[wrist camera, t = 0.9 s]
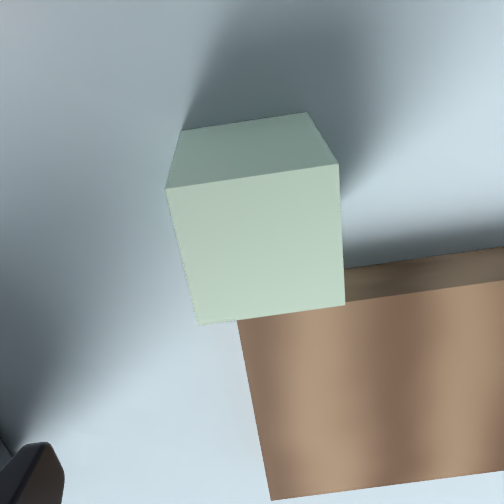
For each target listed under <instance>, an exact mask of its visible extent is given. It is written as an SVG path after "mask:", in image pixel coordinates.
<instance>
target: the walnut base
mask: <svg viewBox="0 0 504 504" xmlns="http://www.w3.org/2000/svg"><path fill="white" fill-rule="evenodd" d="M344 287H345V305H343V306H336V307H328V308H321V309H314V310H307V311H300V312H293V313H285V314H278V315H271V316H264V317H257V318H250V319H243V320H237V324H238V329H239V335H240V340H241V345H242V350H243V356H244V361H245V366H246V372H247V377H248V382H249V387H250V393H251V398H252V403H253V408H254V414H255V419H256V424H257V430H258V435H259V440H260V445H261V451H262V456H263V461H264V466H265V472H266V477H267V482H268V488H269V493H270V498H271V501H272V500H280V499H288V498H295V497H303V496H311V495H319V494H326V493H334V492H342V491H349V490H357V489H365V488H372V487H380V486H388V485H396V484H403V483H411V482H419V481H426V480H434V479H442V478H450V477H457V476H465V475H473V474H480V473H488V472H496V471H504V247H496V248H489V249H482V250H475V251H468V252H461V253H454V254H447V255H440V256H433V257H426V258H418V259H411V260H404V261H397V262H390V263H383V264H376V265H369V266H362V267H355V268H348V269H344Z"/></svg>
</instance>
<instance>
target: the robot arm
mask: <svg viewBox="0 0 504 504" xmlns="http://www.w3.org/2000/svg"><path fill="white" fill-rule="evenodd" d="M64 481H65V477H64V471H63V468H62V466H61V464H60V462H59V460H58V458H57V456H56V454H55V451H54V449H53V447H52V446H51V444H49V443H48V442H40V443H31V444H27V445H25V446H23V447H22V448H21V449H20V450H19V451H18V452H17V453H16V454H15V455H14V456H13V457H12V456H11V455H10V453H9V451H8V450H7V448H6V446H5V445H4V443H3V441H2V440H1V438H0V504H61V502H62V495H63V489H64Z"/></svg>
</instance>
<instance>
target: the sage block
mask: <svg viewBox="0 0 504 504" xmlns="http://www.w3.org/2000/svg"><path fill="white" fill-rule="evenodd" d="M165 193H166V197H167V201H168V205H169V209H170V213H171V217H172V221H173V226H174V230H175V234H176V238H177V242H178V246H179V250H180V254H181V258H182V262H183V267H184V271H185V275H186V279H187V283H188V287H189V291H190V295H191V299H192V303H193V308H194V312H195V316H196V320H197V324H198V326H200V325H207V324H214V323H221V322H228V321H235V320H243V319H250V318H257V317H264V316H271V315H278V314H285V313H293V312H300V311H307V310H314V309H321V308H328V307H336V306H343V305H345V287H344V265H343V244H342V223H341V201H340V180H339V163H338V162H337V160H336V158H335V157H334V155H333V153H332V152H331V150H330V148H329V147H328V145H327V144H326V142H325V140H324V139H323V137H322V135H321V134H320V132H319V130H318V129H317V127H316V126H315V124H314V122H313V121H312V119H311V117H310V116H309V114H308V112H303V113H296V114H290V115H283V116H276V117H270V118H263V119H256V120H250V121H243V122H236V123H230V124H223V125H216V126H209V127H203V128H196V129H189V130H183V131H181V132H180V135H179V139H178V143H177V146H176V150H175V153H174V157H173V161H172V164H171V168H170V171H169V175H168V179H167V182H166V186H165Z"/></svg>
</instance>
